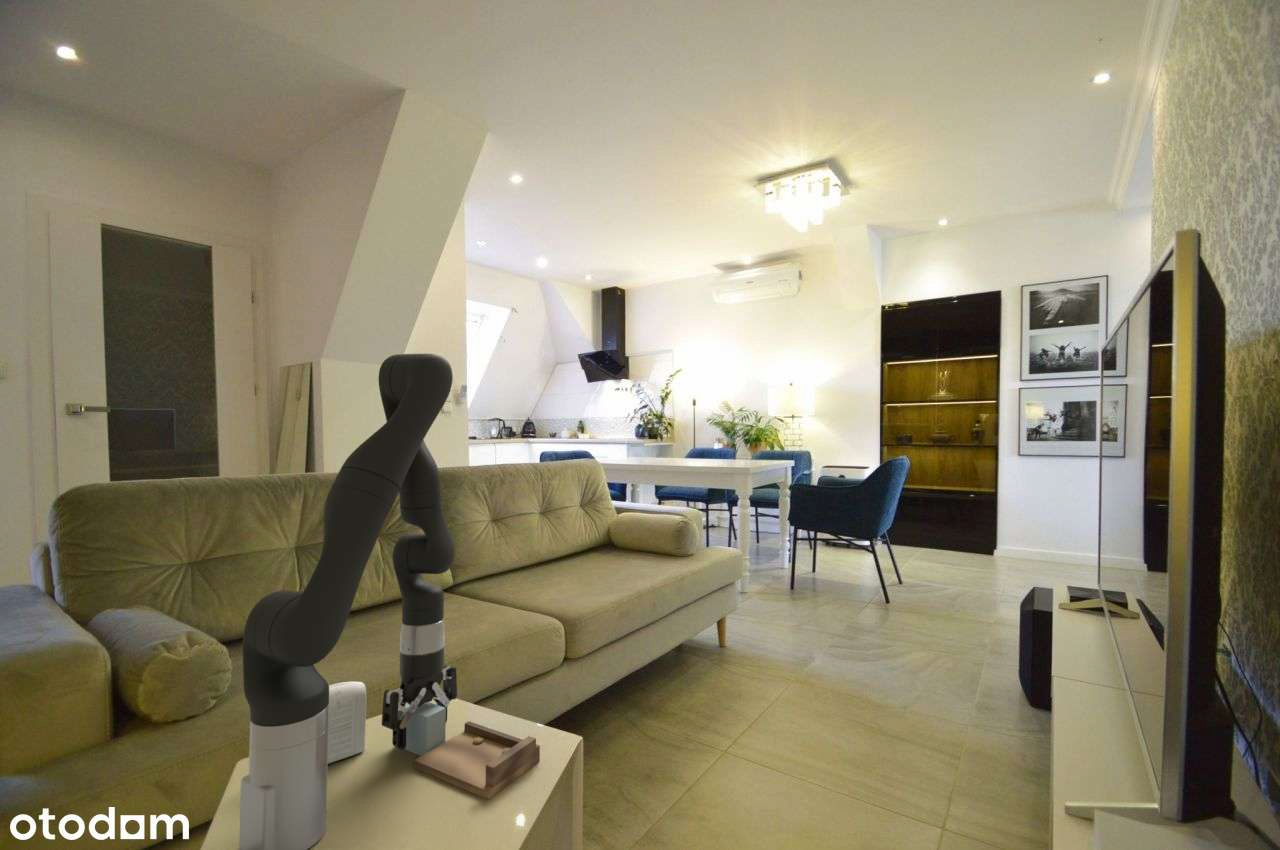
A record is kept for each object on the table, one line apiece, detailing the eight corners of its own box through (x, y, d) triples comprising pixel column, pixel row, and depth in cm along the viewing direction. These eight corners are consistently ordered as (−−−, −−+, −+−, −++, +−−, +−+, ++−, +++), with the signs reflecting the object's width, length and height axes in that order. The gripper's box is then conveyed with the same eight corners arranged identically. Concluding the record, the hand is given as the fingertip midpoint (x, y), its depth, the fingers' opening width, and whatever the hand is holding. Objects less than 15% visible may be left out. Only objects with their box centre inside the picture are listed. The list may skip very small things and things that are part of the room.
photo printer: (360, 742, 101) (362, 673, 102) (368, 751, 98) (370, 680, 99) (295, 764, 94) (297, 690, 95) (302, 775, 91) (304, 698, 92)
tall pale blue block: (426, 758, 96) (427, 717, 96) (396, 746, 100) (397, 706, 100) (445, 747, 100) (445, 707, 100) (415, 736, 104) (415, 697, 104)
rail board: (488, 799, 85) (488, 771, 85) (413, 767, 93) (414, 741, 93) (539, 761, 95) (539, 735, 95) (468, 735, 104) (468, 712, 104)
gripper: (402, 662, 93) (400, 762, 92) (467, 637, 105) (466, 725, 104) (373, 654, 96) (371, 750, 96) (440, 630, 109) (438, 715, 108)
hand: (420, 737), depth 100 cm, fingers open, 8 cm apart
